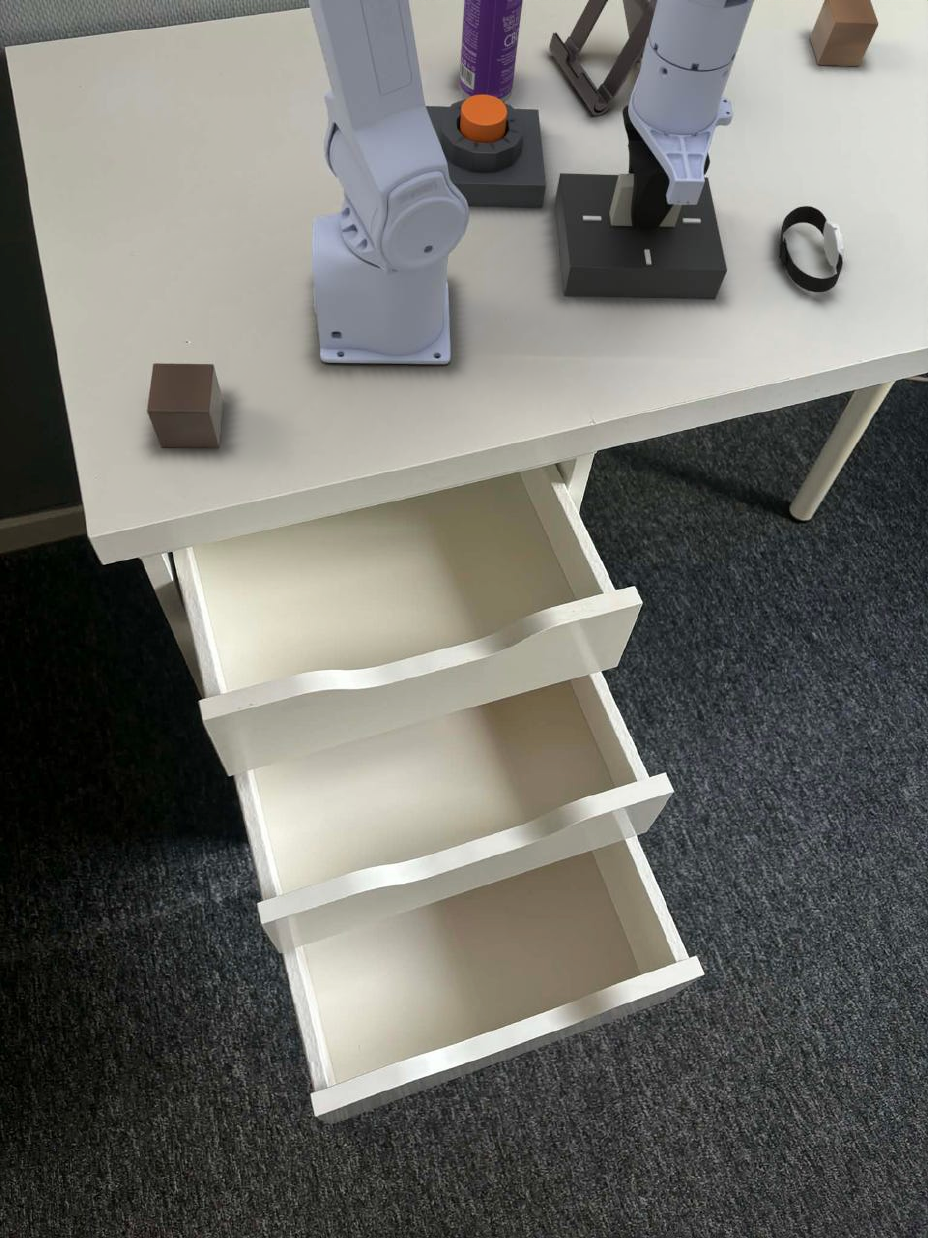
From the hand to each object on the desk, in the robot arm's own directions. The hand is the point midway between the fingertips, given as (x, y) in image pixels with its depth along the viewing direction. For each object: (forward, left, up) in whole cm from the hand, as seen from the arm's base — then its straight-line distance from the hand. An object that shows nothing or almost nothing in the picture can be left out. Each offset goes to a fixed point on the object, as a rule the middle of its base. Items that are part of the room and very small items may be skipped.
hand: (643, 215), depth 73 cm
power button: (-12, +9, 0) cm, 15 cm away
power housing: (-12, +9, -3) cm, 15 cm away
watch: (+14, -1, -4) cm, 14 cm away
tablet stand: (0, +21, -4) cm, 21 cm away
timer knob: (0, 0, 0) cm, 0 cm away
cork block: (+22, +26, -3) cm, 34 cm away
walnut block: (-33, -17, -3) cm, 38 cm away
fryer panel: (0, 0, -3) cm, 3 cm away
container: (-11, +19, -4) cm, 22 cm away
